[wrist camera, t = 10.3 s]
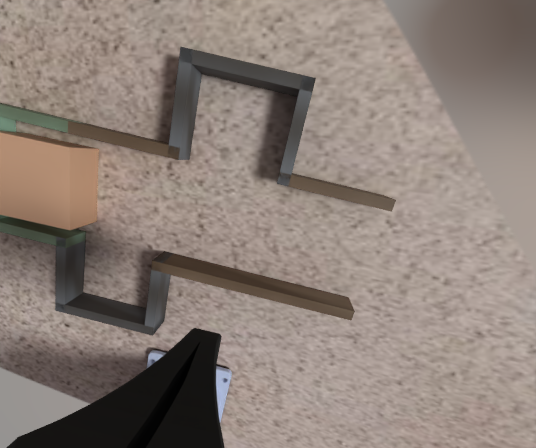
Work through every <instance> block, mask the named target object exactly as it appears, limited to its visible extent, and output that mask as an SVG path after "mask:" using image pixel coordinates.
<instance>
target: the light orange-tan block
mask: <svg viewBox="0 0 536 448" xmlns="http://www.w3.org/2000/svg"><path fill="white" fill-rule="evenodd" d="M98 150H99V149H96V148H92V147H87V146H82V145H78V144H73V143H69V142H64V141H59V140H55V139H50V138H46V137H41V136H36V135H32V134H27V133H18V132H7V131H0V215H4V216H9V217H13V218H17V219H22V220H26V221H31V222H35V223H40V224H44V225H48V226H53V227H57V228H62V229H66V230H73V229H76V228H79V227H82V226H85V225H88V224H91V223H94V222H97V188H98Z"/></svg>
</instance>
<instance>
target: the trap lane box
mask: <svg viewBox="0 0 536 448" xmlns="http://www.w3.org/2000/svg"><path fill="white" fill-rule="evenodd" d="M202 74H204V75H209V76H213V77H217V78H221V79H226V80H230V81H234V82H238V83H243V84H247V85H251V86H255V87H260V88H264V89H268V90H273V91H277V92H281V93H285V94H290V95H294V96H298V98H297V102H296V107H295V111H294V115H293V119H292V123H291V127H290V132H289V136H288V140H287V144H286V148H285V153H284V157H283V161H282V165H281V169H280V173H279V178H278V182H277V184H280V185H285V186H289V187H293V188H297V189H301V190H305V191H309V192H313V193H318V194H322V195H326V196H330V197H334V198H338V199H342V200H346V201H351V202H355V203H359V204H363V205H367V206H371V207H375V208H379V209H383V210H388V211H392V209H393V207H394V204H395V201H396V200H394V199H392V198H389V197H387V196H384V195H380V194H376V193H371V192H367V191H363V190H359V189H355V188H351V187H347V186H342V185H338V184H334V183H330V182H326V181H322V180H318V179H314V178H309V177H305V176H301V175H297V174H293V173H292V170H293V166H294V162H295V158H296V154H297V150H298V146H299V142H300V138H301V135H302V131H303V127H304V123H305V119H306V115H307V111H308V107H309V103H310V99H311V95H312V91H313V87H314V83H315V79H316V78H313V77H308V76H304V75H300V74H295V73H291V72H287V71H283V70H278V69H274V68H270V67H265V66H261V65H257V64H253V63H248V62H244V61H240V60H235V59H231V58H227V57H223V56H218V55H214V54H210V53H205V52H201V51H197V50H193V49H188V48H184V47H181V48H180V56H179V65H178V73H177V81H176V89H175V98H174V106H173V114H172V122H171V131H170V139H169V143H164V142H160V141H156V140H152V139H148V138H144V137H140V136H136V135H131V134H127V133H123V132H119V131H115V130H111V129H107V128H102V127H98V126H94V125H90V124H86V123H82V122H78V121H73V120H69V119H65V118H61V117H57V116H53V115H49V114H44V113H40V112H36V111H32V110H28V109H24V108H20V107H15V106H11V105H7V104H2V103H0V131H7V132H16V120H17V121H21V122H25V123H29V124H33V125H37V126H42V127H46V128H50V129H54V130H58V131H62V132H66V133H70V134H74V135H79V136H83V137H87V138H91V139H95V140H99V141H103V142H107V143H112V144H116V145H120V146H124V147H128V148H132V149H136V150H140V151H145V152H149V153H153V154H157V155H161V156H165V157H169V158H173V159H177V160H189V159H190V152H191V145H192V138H193V131H194V124H195V117H196V111H197V104H198V97H199V90H200V83H201V76H202ZM0 232H3V233H7V234H11V235H15V236H19V237H23V238H27V239H31V240H35V241H39V242H43V243H47V244H51V245H55V246H56V306H55V310H56V311H60V312H63V313H67V314H71V315H75V316H79V317H83V318H87V319H91V320H94V321H98V322H102V323H106V324H110V325H114V326H118V327H122V328H125V329H129V330H133V331H137V332H141V333H145V334H149V335H154V333H155V332H156V331H157V329H158V328H159V327H160V326H161V324H162V323H163V322H164V318H165V311H166V304H167V297H168V289H169V282H170V275H174V276H178V277H182V278H186V279H189V280H193V281H197V282H201V283H205V284H209V285H213V286H217V287H221V288H225V289H229V290H233V291H237V292H241V293H245V294H249V295H253V296H257V297H261V298H265V299H269V300H273V301H277V302H281V303H285V304H288V305H292V306H296V307H300V308H304V309H308V310H312V311H316V312H320V313H324V314H328V315H332V316H336V317H340V318H344V319H348V320H352V317H353V314H354V312H355V311H354V309H353V307H352V304H351V302H350V299H349V298H348V297H344V296H340V295H336V294H332V293H328V292H324V291H320V290H316V289H312V288H308V287H304V286H300V285H296V284H292V283H288V282H284V281H280V280H276V279H272V278H268V277H264V276H260V275H256V274H252V273H248V272H244V271H241V270H237V269H233V268H229V267H225V266H221V265H217V264H213V263H209V262H205V261H201V260H197V259H193V258H189V257H185V256H181V255H177V254H173V253H169V252H165V251H164V252H163V253H162V254H160V255H159V256H158V257H156V258H155V259H154V260H152V267H151V275H150V284H149V292H148V301H147V309H145V308H141V307H138V306H134V305H130V304H126V303H122V302H118V301H114V300H110V299H106V298H102V297H98V296H95V295H91V294H87V293H83V284H84V259H85V234H86V232H85V231H81V230H77V229H73V230H66V229H62V228H57V227H53V226H48V225H44V224H40V223H35V222H31V221H26V220H22V219H17V218H13V217H9V216H4V215H0Z"/></svg>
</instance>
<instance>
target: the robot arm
mask: <svg viewBox="0 0 536 448" xmlns="http://www.w3.org/2000/svg"><path fill="white" fill-rule="evenodd" d="M220 342H221V335H220V334H218V333H214V332H210V331H205V330H201V329H197V328H194V329H192V330H191V331H190V332H189V333H188V334H187V335H186V336H185V337H184V338H183V339H182V340H181V341H180V342H178V343H177V344H176V345H175V346H174V347H173V348H172V349H171V350H169V351H168V352H167V353H164V352H161V351H157V350H152V351H151V352H150V353H149V355H148V362H147V369H146V370H144V371H143V372H142V373H140V374H139V375H137V376H136V377H134V378H133V379H132V380H130V381H129V382H127V383H125V384H124V385H122V386H121V387H119V388H118V389H116V390H114V391H113V392H111V393H109V394H108V395H106V396H104V397H103V398H101V399H99V400H97V401H95V402H94V403H92V404H90V405H88V406H86V407H84V408H82V409H80V410H78V411H76V412H74V413H72V414H70V415H68V416H66V417H64V418H62V419H60V420H58V421H56V422H53V423H51V424H48V425H46V426H44V427H41V428H39V429H37V430H34V431H32V432H30V433H28V434H25V435H22V436H20V437H18V438H17V439H16V440H15V441H14V442H12V443H11V444H10V445H9V446H8V447H7V448H224V443H223V437H222V432H221V426H220V421H221V417H222V413H223V409H224V405H225V401H226V396H227V392H228V388H229V384H230V380H231V376H232V372H231V371H230V370H229V369H226V368H222V367H218V366H216V363H217V358H218V352H219V347H220ZM154 360H155V361H154ZM224 378H226V379H224Z"/></svg>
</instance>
